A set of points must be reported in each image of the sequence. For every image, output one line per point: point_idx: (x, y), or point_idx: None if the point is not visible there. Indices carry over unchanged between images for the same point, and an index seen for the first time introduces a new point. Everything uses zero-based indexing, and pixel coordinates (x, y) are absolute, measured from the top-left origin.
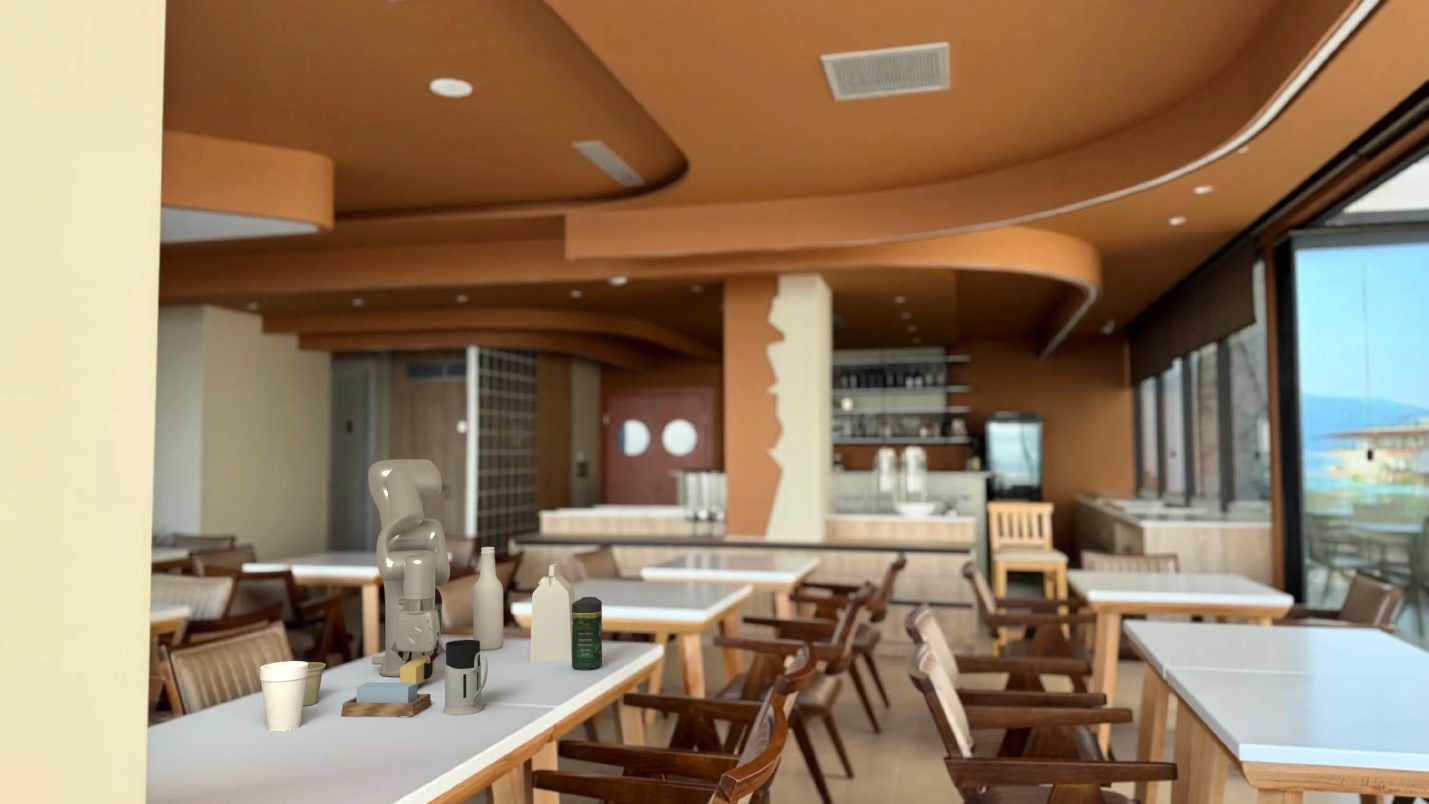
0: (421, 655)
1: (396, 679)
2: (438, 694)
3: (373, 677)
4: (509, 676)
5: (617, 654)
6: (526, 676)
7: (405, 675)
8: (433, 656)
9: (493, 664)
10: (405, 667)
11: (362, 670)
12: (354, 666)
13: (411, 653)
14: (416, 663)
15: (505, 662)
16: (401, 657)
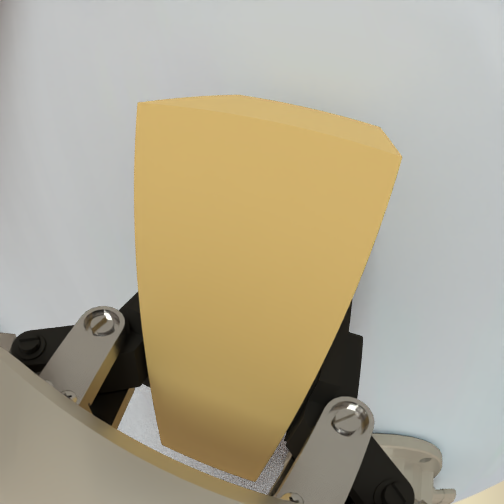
0: (244, 477)
1: (399, 409)
2: (100, 20)
3: (468, 437)
4: (28, 304)
5: None
6: (3, 287)
7: (321, 120)
8: (48, 343)
9: (137, 431)
10: (306, 128)
11: (465, 479)
12: (466, 494)
13: (275, 487)
14: (201, 317)
15: (123, 431)
16: (380, 459)
